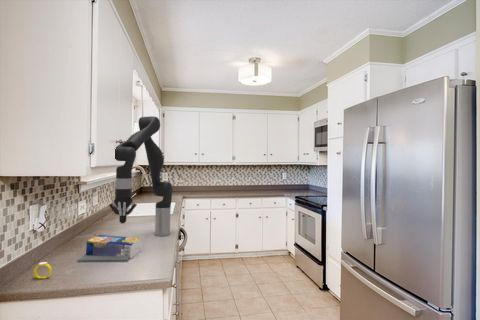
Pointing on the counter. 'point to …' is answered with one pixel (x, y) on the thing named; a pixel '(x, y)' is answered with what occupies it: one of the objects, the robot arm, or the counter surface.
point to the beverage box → (113, 246)
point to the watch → (42, 265)
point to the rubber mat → (102, 258)
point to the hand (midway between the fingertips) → (122, 223)
